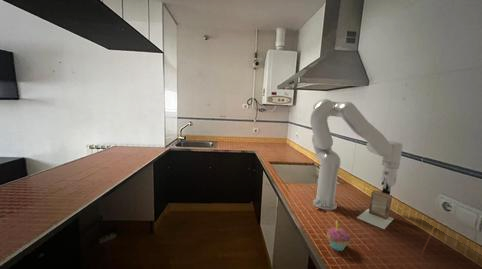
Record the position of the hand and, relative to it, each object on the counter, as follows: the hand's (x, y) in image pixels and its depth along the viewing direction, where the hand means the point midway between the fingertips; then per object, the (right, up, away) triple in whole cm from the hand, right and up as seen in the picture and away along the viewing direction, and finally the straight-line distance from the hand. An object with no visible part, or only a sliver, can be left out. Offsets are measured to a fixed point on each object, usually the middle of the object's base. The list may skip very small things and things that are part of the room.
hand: (385, 196), depth 111 cm
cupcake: (-41, -11, -30) cm, 52 cm away
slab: (-6, -8, -4) cm, 11 cm away
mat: (-10, -9, -7) cm, 15 cm away
